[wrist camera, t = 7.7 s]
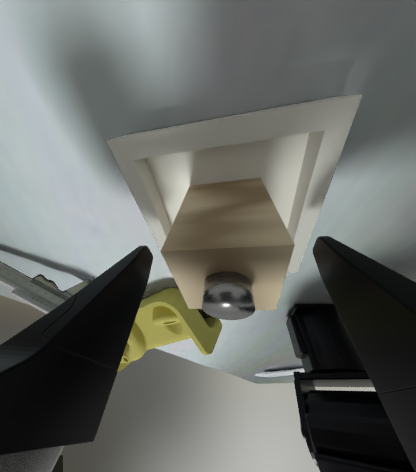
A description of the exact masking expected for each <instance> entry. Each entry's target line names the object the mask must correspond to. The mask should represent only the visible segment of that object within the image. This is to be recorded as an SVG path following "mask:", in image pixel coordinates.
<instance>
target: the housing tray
mask: <svg viewBox="0 0 416 472" xmlns="http://www.w3.org/2000/svg"><path fill="white" fill-rule="evenodd" d="M362 96H363V94H359V95H348V96H338V97H331V98H325V99H320V100H314V101H309V102H303V103H298V104H292V105H287V106H281V107H276V108H270V109H265V110H259V111H254V112H248V113H243V114H238V115H232V116H227V117H221V118H216V119H210V120H205V121H199V122H194V123H188V124H183V125H177V126H172V127H166V128H161V129H155V130H150V131H144V132H139V133H133V134H128V135H124V136H120V137H116V138H113V139H109V140H106V142H107V144H108V146H109V148H110V150H111V152H112V154H113V156H114V158H115V160H116V162H117V164H118V166H119V168H120V170H121V172H122V174H123V176H124V178H125V180H126V182H127V184H128V186H129V188H130V190H131V192H132V194H133V197H134V199H135V201H136V203H137V205H138V207H139V209H140V211H141V213H142V215H143V217H144V219H145V221H146V223H147V225H148V227H149V229H150V231H151V233H152V235H153V237H154V239H155V241H156V243H157V245H158V247H159V249H160V251H161V249H162V247H163V245H164V242H165V240H166V238H167V236H168V233H169V231H170V229H171V227H172V224H173V222H174V220H175V218H176V215H177V213H178V211H179V209H180V206H181V204H182V202H183V200H184V198H185V195H186V193H187V191H188V189H189V186H193V185H201V184H210V183H218V182H227V181H236V180H244V179H253V178H261V180H262V181H263V183H264V185H265V187H266V189H267V191H268V193H269V195H270V197H271V199H272V201H273V203H274V205H275V207H276V209H277V211H278V213H279V215H280V217H281V219H282V221H283V223H284V225H285V226H286V228H287V230H288V232H289V234H290V236H291V238H292V240H293V242H294V244H295V246H294V249H293V253H292V256H291V260H290V263H289V267H288V270H287V273H298V270H299V267H300V264H301V262H302V259H303V256H304V253H305V251H306V248H307V245H308V243H309V240H310V237H311V234H312V232H313V229H314V226H315V224H316V221H317V218H318V215H319V213H320V210H321V207H322V204H323V202H324V199H325V196H326V194H327V191H328V188H329V185H330V183H331V180H332V177H333V174H334V172H335V169H336V166H337V164H338V161H339V158H340V155H341V153H342V150H343V147H344V145H345V142H346V139H347V136H348V134H349V131H350V128H351V125H352V123H353V120H354V117H355V115H356V112H357V109H358V106H359V104H360V101H361V98H362ZM162 256H163V255H162ZM163 258H164V257H163ZM164 260H165V259H164ZM165 262H166V261H165ZM166 264H167V263H166ZM167 266H168V265H167ZM168 268H169V267H168ZM169 270H170V269H169ZM170 272H171V271H170ZM171 274H172V273H171Z"/></svg>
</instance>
